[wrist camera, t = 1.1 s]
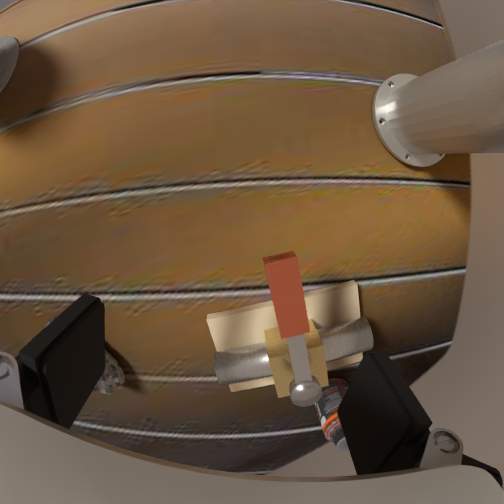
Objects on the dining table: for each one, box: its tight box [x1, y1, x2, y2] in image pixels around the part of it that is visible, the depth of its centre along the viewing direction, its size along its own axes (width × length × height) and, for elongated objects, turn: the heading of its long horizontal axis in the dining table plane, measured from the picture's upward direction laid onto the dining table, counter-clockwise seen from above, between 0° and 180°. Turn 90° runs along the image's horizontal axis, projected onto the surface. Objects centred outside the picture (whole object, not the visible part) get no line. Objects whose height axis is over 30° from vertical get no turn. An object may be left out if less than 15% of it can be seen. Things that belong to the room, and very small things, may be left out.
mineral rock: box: [45, 315, 125, 394], centre depth 34 cm, size 13×11×10 cm
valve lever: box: [263, 251, 322, 407], centre depth 26 cm, size 16×3×2 cm, turn 13°
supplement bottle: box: [314, 378, 349, 452], centre depth 36 cm, size 6×6×11 cm
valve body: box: [214, 317, 373, 398], centre depth 33 cm, size 19×6×8 cm, turn 103°
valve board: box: [207, 280, 363, 392], centre depth 38 cm, size 19×12×2 cm, turn 103°
